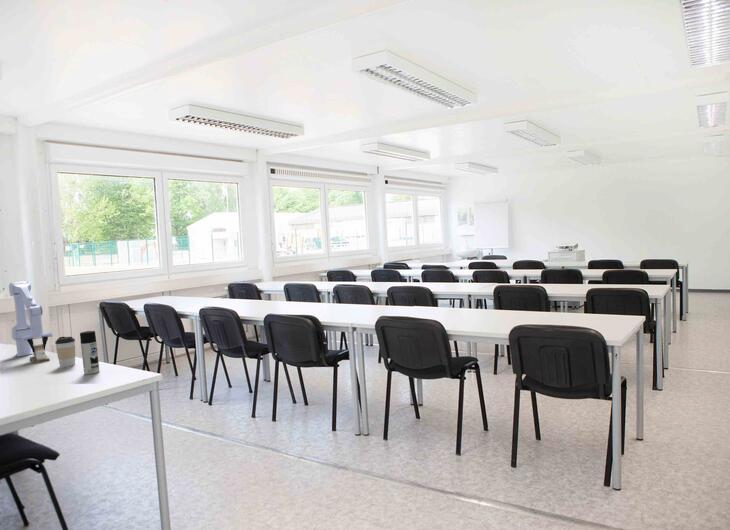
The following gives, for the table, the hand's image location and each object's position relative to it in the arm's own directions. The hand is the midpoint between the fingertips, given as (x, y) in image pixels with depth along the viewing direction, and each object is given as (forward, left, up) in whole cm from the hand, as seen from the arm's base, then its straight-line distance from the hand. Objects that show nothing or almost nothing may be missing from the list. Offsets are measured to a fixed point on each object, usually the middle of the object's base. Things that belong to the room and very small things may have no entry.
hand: (38, 351), depth 297 cm
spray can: (+64, +15, -5) cm, 66 cm away
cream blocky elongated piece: (0, 0, -5) cm, 5 cm away
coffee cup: (+34, +9, -5) cm, 35 cm away
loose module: (0, 0, -2) cm, 2 cm away
